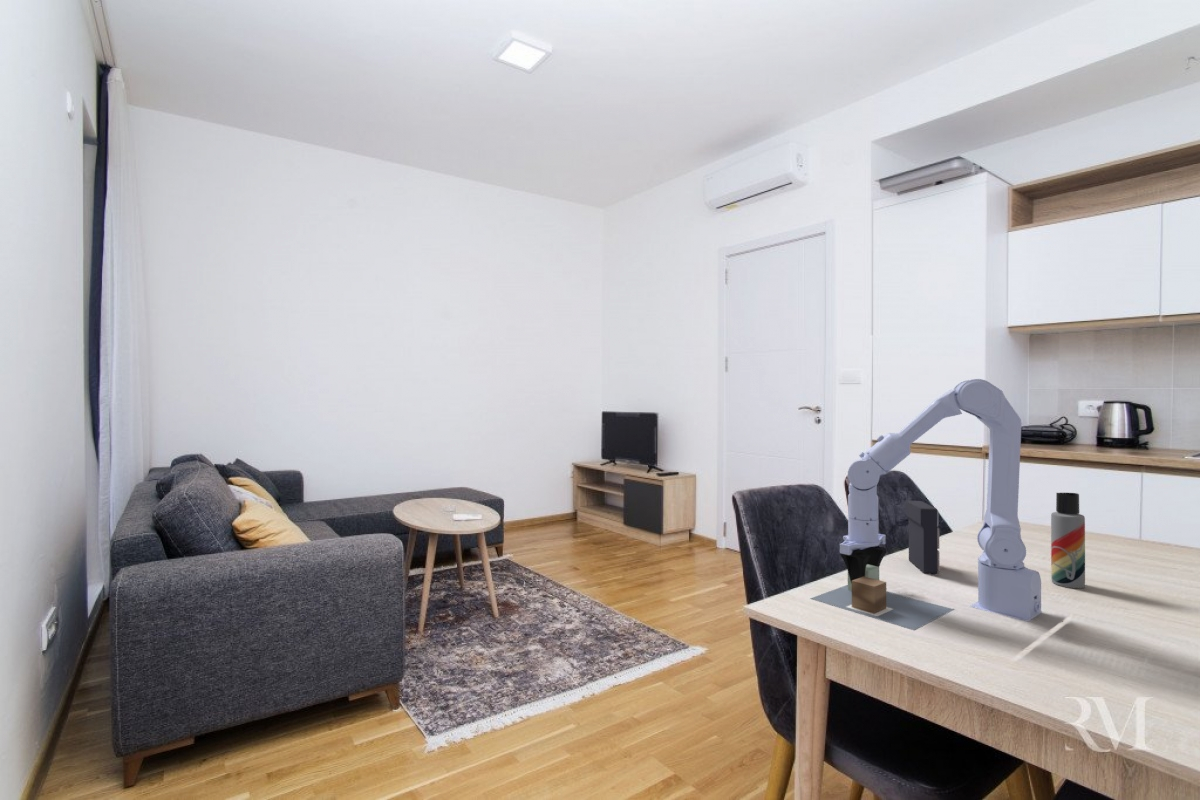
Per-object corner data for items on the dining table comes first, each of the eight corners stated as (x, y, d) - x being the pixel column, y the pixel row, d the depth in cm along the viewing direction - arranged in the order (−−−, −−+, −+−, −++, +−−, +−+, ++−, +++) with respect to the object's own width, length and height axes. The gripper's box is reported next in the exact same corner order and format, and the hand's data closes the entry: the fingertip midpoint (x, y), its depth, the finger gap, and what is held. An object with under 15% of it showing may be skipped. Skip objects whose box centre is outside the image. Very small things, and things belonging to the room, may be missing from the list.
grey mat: (954, 612, 109) (954, 608, 109) (914, 633, 99) (914, 629, 99) (852, 585, 125) (852, 582, 125) (809, 601, 115) (809, 598, 115)
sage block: (879, 591, 120) (879, 566, 120) (868, 595, 117) (868, 570, 117) (858, 585, 123) (858, 562, 123) (847, 589, 120) (847, 565, 120)
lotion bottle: (1056, 586, 124) (1056, 493, 124) (1047, 579, 129) (1047, 489, 129) (1089, 590, 121) (1089, 494, 121) (1079, 582, 127) (1078, 490, 127)
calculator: (941, 574, 133) (941, 508, 133) (921, 573, 133) (920, 508, 133) (924, 561, 143) (924, 500, 143) (905, 560, 144) (905, 500, 144)
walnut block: (886, 608, 109) (886, 581, 109) (874, 613, 107) (874, 586, 107) (863, 602, 113) (863, 576, 113) (851, 606, 110) (851, 580, 110)
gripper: (862, 510, 128) (863, 572, 128) (825, 519, 119) (826, 585, 119) (895, 515, 122) (895, 580, 122) (858, 525, 113) (859, 594, 113)
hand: (863, 583), depth 120 cm, fingers closed on sage block, 4 cm apart
